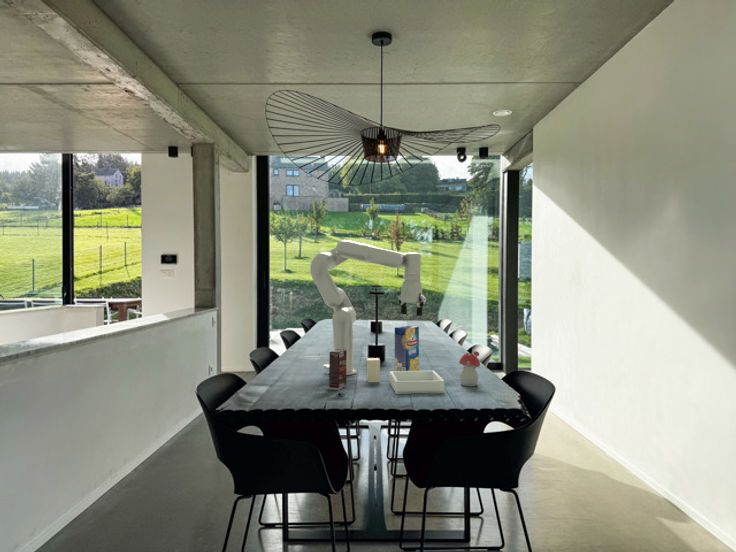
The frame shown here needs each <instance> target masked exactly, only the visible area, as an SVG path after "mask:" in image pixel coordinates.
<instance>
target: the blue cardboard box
mask: <svg viewBox="0 0 736 552" xmlns="http://www.w3.org/2000/svg"><path fill="white" fill-rule="evenodd" d="M419 336H420V326H416V325H403V326H397V327H396V326H395V327H394V371H420V361H419V360H420V359H419V357H420V353H419V352H420V345H419V344H420V340H419V339H420V337H419Z"/></svg>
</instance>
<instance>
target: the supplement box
mask: <svg viewBox="0 0 736 552" xmlns="http://www.w3.org/2000/svg"><path fill="white" fill-rule="evenodd" d="M328 355H329V362H328V363H329V364H328V365H329V369H328V370H329V371H328V372H329V374H328V377H329V378H328V380H329V382H328V383H329V384H328V390H331V391H332V390H333V391H340V390H341V389H344V388H345V386H346V387H347V375H346V369H347V368H346V365H347V350H343V349H337V350H334V351H333V350H331V351H329V354H328ZM343 387H344V388H343Z"/></svg>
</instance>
